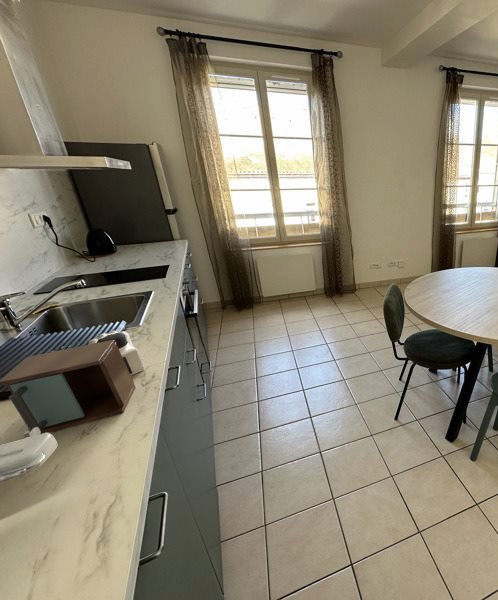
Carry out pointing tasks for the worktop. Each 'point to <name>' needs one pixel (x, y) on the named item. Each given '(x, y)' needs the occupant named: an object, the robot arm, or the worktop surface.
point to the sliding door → (45, 401)
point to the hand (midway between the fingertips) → (4, 438)
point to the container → (125, 352)
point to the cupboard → (83, 379)
